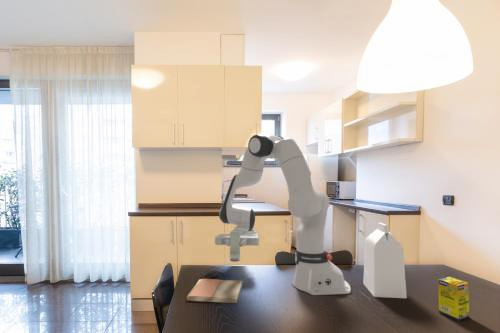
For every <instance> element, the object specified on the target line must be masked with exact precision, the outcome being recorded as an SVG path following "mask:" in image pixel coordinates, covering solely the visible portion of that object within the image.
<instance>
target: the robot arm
mask: <svg viewBox="0 0 500 333" xmlns="http://www.w3.org/2000/svg"><path fill="white" fill-rule="evenodd" d="M268 159H276V160H277V162H278V163H279V167H280V169H281V172H282V174H283V177H284V179H285V182H286V185H287V190H288V201H287V207H288V212H290V214H291V215H292V216H294V217H295V218H299V219H300V221H299V224H298V226H297V229H296V249H295V254H294V255H295V256H294V258H295V261H294V262H295V273H294V277H293V280H292V281H293V282H292V285H293V286H294V288H296V289H298V290H300V291H303V292H305V293H308V294H309V295H311V296H327V295H347V294H350V293H351V292H352V289H351V286H350V284H349V282H347V281H346V280H345V278H344V277H345V276H344V274H343V272H342V270H341V269H340V268H339V267H338V266H336V265H335V264H334V263H333V262H331V261H332V259H333V256H332V254H331V253H329V252H328V251H326V250H325V228H326V223H327V222H326V221H327V215H328V209H329V206H330V197H329V196H328V194H327V193H326V192H324V191H321V190H319V189H314V187H313V182H312V173H311V170H310V168H309V165H308V163H307V160H306V159H305V157H304V154H303V152H302V150H301V148H300V146H299V145H298V144H297V142H296V141H295V140H294V139H293V138H291V137H286V138H284V137H282V136H280V135H273V134H267V133H265V134H263V133H257V134H254V135H252V136H251V137H250V139H249V140H248V145H247V148H246V149H245V151H244V154H243V157H242V162H241V168H240V171H239V172H238V173H237V174H235V175H234V176H233V177H232V179H231V180H230V181H231V182H230V183H229V186H228V190H227V193H226V195H225V198H224V200H223V205H222V207H220V210H219V214H218V215H219V216H218V218H219V219H220V221H221V222H222V223H223V224H226V225H230V224H231V225H235V227H234V228H233V229H232V231H239V232H240V248H241V247H246V246H252V247H253V246H259V245H260V243H259V242H260V238H259V234H258V233H257V230H253V229H254V227H255V224H256V223H255V222H256V213H255V211H254V209H253V208H250V207H244V206H240V205H236V204H235V205H234V204H233V201H234V199H235V195H236V192H237V190H239V189H241V188H246V187H251V186H254V185H256V184H258V183H259V182H260V181H261V179H262V176H263V173H264V167H265V162H266V160H268ZM214 244H215V245H216V246H226V247H230V233H220V234H218V235H216V236H214Z"/></svg>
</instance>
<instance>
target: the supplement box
mask: <svg viewBox="0 0 500 333" xmlns="http://www.w3.org/2000/svg"><path fill="white" fill-rule="evenodd" d="M437 284H438V286H437V287H438V288H437V289H438V313H439V314H441V313H442V315H444V316H446V317H448V318H450V319H452V320H455V321H457V322H459V321H462V320H465V319H469V318H470V297H469V296H470V295H469V283H468V282H467V281H464V280H461V279H457V278H454V277H452V276H447V277H444V278H443V277H442V278H438V283H437ZM468 317H469V318H468Z"/></svg>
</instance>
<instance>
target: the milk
mask: <svg viewBox="0 0 500 333" xmlns="http://www.w3.org/2000/svg"><path fill="white" fill-rule="evenodd" d="M363 255H364V256H363V285H364V286H365V288H366V289H367V290H368V291H369V292H370V294H371V295H372V296H373V297H374V298H389V299H390V298H394V299H395V298H396V299H408V298H407V282H406V272H405V271H406V270H405V260H404V258H405V257H404V256H405V255H404V248H403V246H402V244H401V243H400V242H399V241H398V240H397V239H396V236H395V235H394V234H393V233H392V232H390V231H389V226H388V224H385V223H383V222H377V225H376V229H374V231H372V232H371V233H370V234H369V235H367V236H366V238H365V240H364V254H363Z"/></svg>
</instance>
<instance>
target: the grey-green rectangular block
mask: <svg viewBox="0 0 500 333" xmlns="http://www.w3.org/2000/svg"><path fill="white" fill-rule="evenodd" d="M229 234H230V246H229V261H230V262H232V263H234V262H235V263H236V262H239V261H241V247H240V232H239V231H233V230H232V231H229Z"/></svg>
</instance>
